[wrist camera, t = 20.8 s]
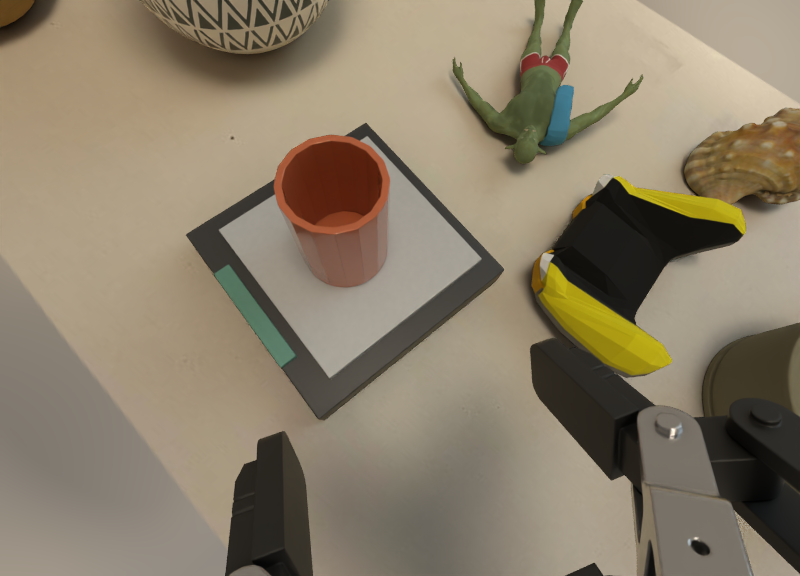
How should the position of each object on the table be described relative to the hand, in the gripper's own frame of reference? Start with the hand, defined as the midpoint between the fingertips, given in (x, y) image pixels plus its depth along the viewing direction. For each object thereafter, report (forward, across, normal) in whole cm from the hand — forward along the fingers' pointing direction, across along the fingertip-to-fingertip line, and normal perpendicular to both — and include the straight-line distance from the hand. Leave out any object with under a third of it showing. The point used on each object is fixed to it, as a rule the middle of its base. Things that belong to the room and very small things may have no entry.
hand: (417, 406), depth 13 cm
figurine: (+27, -21, -5) cm, 34 cm away
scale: (+20, 0, +3) cm, 20 cm away
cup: (+17, 0, +1) cm, 17 cm away
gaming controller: (+15, -19, +8) cm, 25 cm away
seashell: (+18, -35, +4) cm, 40 cm away
